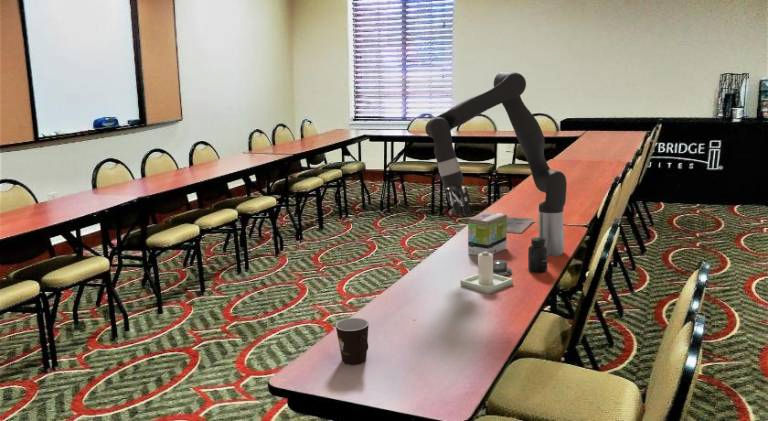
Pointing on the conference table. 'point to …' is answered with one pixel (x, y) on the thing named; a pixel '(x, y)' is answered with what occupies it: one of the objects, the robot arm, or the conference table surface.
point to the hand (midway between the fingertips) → (463, 215)
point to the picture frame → (518, 224)
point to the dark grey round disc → (501, 268)
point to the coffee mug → (353, 340)
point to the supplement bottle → (537, 256)
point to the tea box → (487, 233)
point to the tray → (497, 284)
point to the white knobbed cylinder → (485, 268)
